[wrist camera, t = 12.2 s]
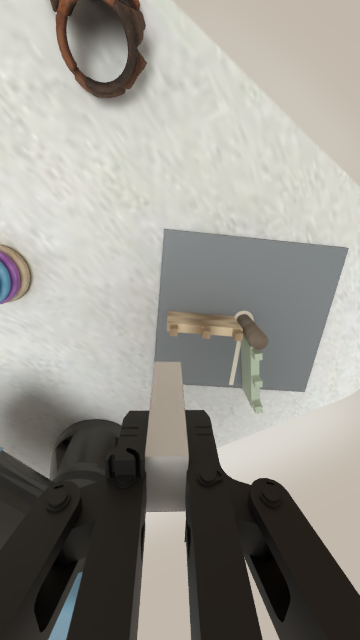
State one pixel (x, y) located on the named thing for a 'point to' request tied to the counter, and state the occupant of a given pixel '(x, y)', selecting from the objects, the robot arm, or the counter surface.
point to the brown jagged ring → (134, 27)
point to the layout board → (246, 304)
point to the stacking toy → (12, 275)
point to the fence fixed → (217, 327)
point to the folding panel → (251, 374)
